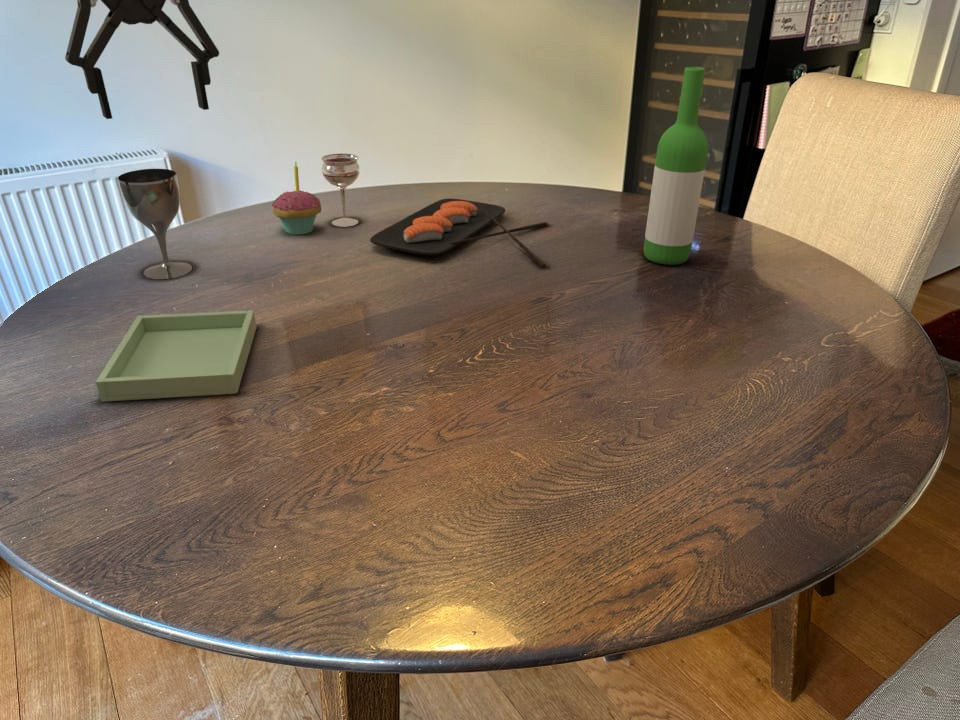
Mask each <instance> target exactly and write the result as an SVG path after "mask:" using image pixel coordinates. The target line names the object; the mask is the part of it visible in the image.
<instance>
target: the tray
mask: <svg viewBox="0 0 960 720" xmlns="http://www.w3.org/2000/svg"><path fill="white" fill-rule="evenodd" d="M256 331H257V321H256V315H255V310H233V311H231V310H230V311H211V312H192V313H191V312H188V313H167V314H165V313H163V314H146V315H145V314H143V315H141V314H140V315H137V316H136V317H135V319H134V321H133V322H132V324H131V326H130V327H129V329H128V330H127V331H126V333H125V335H124V337H123V338H122V340H121V341H120V343H119V345H117V347H116V349H115V351H114V353H112V355H111V357H110V359H109V360H108V362H107V363H106V364H105V367H104V368H103V369H102V371H101V373H100V375H99V376H98V378H97V379H96V381H95V385H96V388H97V391H98V395H99V398H100V401H101V402H103V403H104V402H118V401H137V400H152V399H153V400H154V399H169V398H171V399H172V398H186V397H188V398H189V397H202V396H203V397H204V396H220V395H221V396H222V395H236V394H238V392H239V388H240V385H241V382H242V378H243V376H244V373H245V372H244V371H245V368H246V365H247V362H248V358H249V355H250V351H251V349H252V344H253V341H254V338H255V335H256Z"/></svg>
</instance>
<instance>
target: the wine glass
mask: <svg viewBox="0 0 960 720" xmlns="http://www.w3.org/2000/svg"><path fill="white" fill-rule="evenodd" d="M117 182H118V186H119V189H120V193H121V196H122V199H123V201H124V203H125V206H126V208H127V210H128V211H129V213H130V214H131V216H132V217H133V218H134V219H135V220H136V221H138V222H139V223H140V224H142V225H143V226H144V227H146V229H148V230H149V231H150V232H151V233H152V234H153V235H154V236H155V239H156V241H157V243H158V246H159V249H160V253H161V256H162V262H160V263H156V264H154V265H152V266H149V267H147V268H146V269H145V270H144V271H143V275H144V276H145V277H146V278H148V279H150V280H151V279H152V280H171V279H176V278H179V277H183V276H185V275H187V274H189V273H190V272H191V271H192V270H193V266H192V264H190V263H188V262H184V261H170V259H169V255H168V250H167V249H168V248H167V241H166V240H167V239H166V238H167V237H166V236H167V232H168V229H169V227H170V225H171V224H172V223H173V221H174V219H175V218H176V217H177V215H178V212H179V211H180V199H181V198H180V196H181V195H180V185H179V180H178V175H177V172H176V171H175V170H173V169H168V168H144V169H143V168H142V169H137V170H131V171H128V172H124V173H121V174H120V175H118V177H117Z"/></svg>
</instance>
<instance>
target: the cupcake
mask: <svg viewBox="0 0 960 720" xmlns="http://www.w3.org/2000/svg"><path fill="white" fill-rule="evenodd" d="M297 165H298V164H297V161H295V162H294V166H293V172H294V185H295V190H293V191H284V192H283V193H282V194H280V195H278V197H276V198H275V200H273V202H272V205H271V206H272V213H273V214H274V216H275V217H277V218H278V219H279V220H280V222H281V224H282V226H283V228H284V230H285V232H286V233H287V234H289V235H296V236H297V235H298V236H299V235H306V234H309V233H311V232H312V231H313V230H314V225H315V220H316V217H317V215H318V214H320V213H321V212H322V204H321V201H320V199H319V198H318V197H317V196H316V195H315V194H313V193H310V192H308V191H304V190H300V178H299V166H297Z"/></svg>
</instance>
